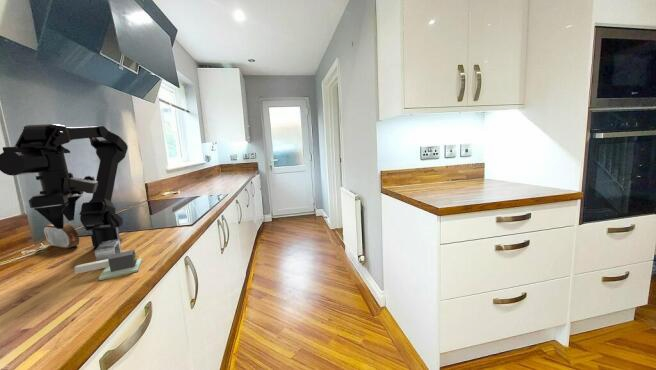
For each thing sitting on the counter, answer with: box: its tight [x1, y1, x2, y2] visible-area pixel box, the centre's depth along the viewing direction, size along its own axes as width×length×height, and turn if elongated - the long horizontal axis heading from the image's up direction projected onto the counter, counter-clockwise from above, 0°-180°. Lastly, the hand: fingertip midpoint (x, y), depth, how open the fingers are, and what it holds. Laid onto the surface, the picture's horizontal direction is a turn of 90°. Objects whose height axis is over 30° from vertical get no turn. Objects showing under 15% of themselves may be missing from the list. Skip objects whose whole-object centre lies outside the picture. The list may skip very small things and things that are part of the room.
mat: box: [98, 257, 143, 281], centre depth 69 cm, size 8×8×1 cm
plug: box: [74, 249, 140, 274], centre depth 68 cm, size 13×4×4 cm, turn 118°
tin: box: [42, 223, 80, 249], centre depth 88 cm, size 15×3×8 cm, turn 71°
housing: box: [94, 239, 123, 261], centre depth 75 cm, size 4×8×5 cm, turn 29°
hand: (66, 224), depth 73 cm, fingers open, 9 cm apart
